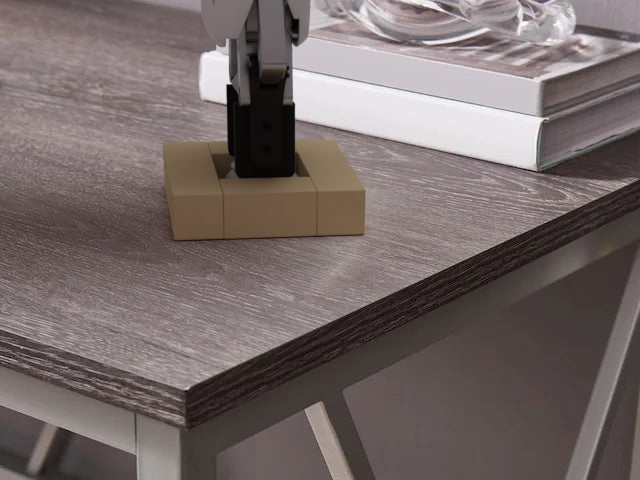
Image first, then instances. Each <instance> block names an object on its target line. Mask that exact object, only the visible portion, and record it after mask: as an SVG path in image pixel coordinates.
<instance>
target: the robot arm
mask: <svg viewBox="0 0 640 480" xmlns="http://www.w3.org/2000/svg"><path fill="white" fill-rule="evenodd" d="M311 1H312V0H200V15H201V19H202V22H203V25H204V27H205V30H206V31H207V34H208V36H209V38H210V40H211V41H212V42H213V44H215V45H216V46H217V47H219V48H226V45H227V39H228V78H229V79H228V80H229V83H227V84H225V90H226V91H225V92H226V93H225V94H226V95H225V96H226V97H225V99H226V131H227V132H226V136H227V137H226V138H227V140H226V141H227V144H228V152H229V154H230V155H231V156H233V157H235V172H236V175H237V176H238V177H239V178H282V177H292V176H293V175H294V173H295V140H296V103H295V101H294V76H293V75H294V74H293V73H294V72H293V71H294V69H293V51H294V47H296V48H298V47H299V46H300V45H302V44H304V42H305V41H307V39H308V38H309V33H310V23H311V21H310V20H311ZM293 46H294V47H293ZM250 61H251V66H250ZM237 73H238V92H239V94H238V92H237V91H236V90H235V88H234V87H233V85H232V84H231V81H232V80H233V78H234V77H235V76H236V74H237Z"/></svg>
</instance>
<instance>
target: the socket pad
mask: <svg viewBox="0 0 640 480" xmlns="http://www.w3.org/2000/svg"><path fill="white" fill-rule="evenodd" d="M162 155H163V157H162V158H163V178H164V181H163V182H164V188H165V194H166V199H167V205H168V210H169V217H170V224H171V230H172V235H173V240H174V241H196V240H197V241H198V240H200V241H201V240H223V239H224V240H229V239H230V240H233V239H235V240H236V239H261V238H262V239H263V238H292V237H293V238H294V237H295V238H296V237H316V236H317V237H319V236H320V237H322V236H348V235H349V236H350V235H364V234H365V232H366V231H365V227H366V225H365V224H366V188H365V187H364V185H363V184H362V182H361V180H360V179H359V177H358V175H357V174H356V172H355V171H354V169H353V168H352V166H351V164H350V162H349V161H348V159H347V158H346V156H345V154H344V152H343V151H342V150H341V148H340V146H339V145H338V143H337V142H336V139H334V138H330V139H329V138H328V139H326V138H325V139H295V173H296V174H297V175H298V177H282V178H240V179H225V176H226V175H227V174H228V173H229V172H230V171H231V170H232V167H231V163H233V162H234V161H235V157H233V156H231V155H230V154H229V152H228V144H227V140H224V141H223V140H219V141H217V140H216V141H169V142H168V141H164V142H163V143H162Z"/></svg>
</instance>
